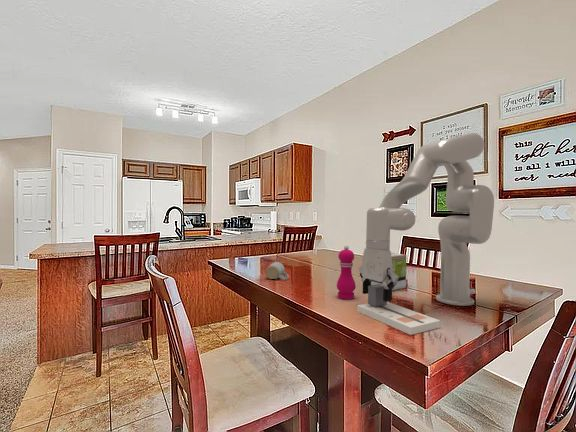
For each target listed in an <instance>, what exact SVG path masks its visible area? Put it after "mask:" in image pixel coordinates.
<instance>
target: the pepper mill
mask: <svg viewBox="0 0 576 432" xmlns="http://www.w3.org/2000/svg"><path fill="white" fill-rule="evenodd" d="M349 248H350V247H349V246H348V245H345V246H344V247H343V249H342V250H340V251H339V253H338V255H337V256H338V260H339V267H340V275H339V277H338V279H337V283H336V289H337V290H338V292H337V298H338V299H341V300H347V301H348V300H349V301H351V300H354V299H355V292H354V291H355V290H356V282H355V279H354V277H353V273H352V268H353V267H354V262H353V261H354V259H355V254H354V252H353V251H352V250H350V249H349Z"/></svg>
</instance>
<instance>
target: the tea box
mask: <svg viewBox="0 0 576 432" xmlns="http://www.w3.org/2000/svg"><path fill="white" fill-rule="evenodd" d="M391 257H392V271H393V272H394V273H395V274H396V275H397V276H398V277H399V279H398V281H397V282H396V285H395V286H394V288H393V289H392V291H396V290H400V289H404V288H405V289H406V286H407V254H403V253H396V252H391ZM391 281H392V279H391ZM370 282H371V285H378V284H380V285H383V283H382V282H377V281H373V280H370ZM387 284H388V282H387Z"/></svg>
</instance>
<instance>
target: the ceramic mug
mask: <svg viewBox="0 0 576 432" xmlns="http://www.w3.org/2000/svg"><path fill="white" fill-rule="evenodd" d="M285 270H286V269H285V265H283V263H282V262H279V261H274V262H272V263H270V265H268V266H267V267H266V269H265V275H266V277H267V278H268V279H269V280H271V279H275V280H278V279H280V280H283V281H287V280H288V279H289V274H288V273H287V272H285Z"/></svg>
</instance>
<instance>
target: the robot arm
mask: <svg viewBox="0 0 576 432" xmlns="http://www.w3.org/2000/svg"><path fill="white" fill-rule="evenodd" d="M484 149H485V141H484V138H483V137H482V136H481V135H480V134H479V133H475V132H469V133H465V134H461V135H458V136H454V137H449V138H446V139H442V140H438V141H433V142H430V143H427V144H424V145H422V146H421V147H420V148H419V149H418V150H417V152H416V154H415V156H414V157H413V158H412V161H411V163H410V165H409V167H408V169H407V171H406V173H405V174H404V177H402V179H401V180H400V181H399V182H398V183H396V185H395V186H394V187H393V188H392V189H391V190H389V192H388V193H387V194H386V195H385V197H384V198H383V199H382V201H381V203H380V205H379V206H378V207H372V208H368V209H367V211H366V227H365V228H366V233H365V235H366V237H365V248H364V250H363V254H362V261H361V266H359V267H358V272H359V277H360V281H361V282H362V294H363V295H368V286H371V282H370V280H373V281H377V282H382V283H383V285H384V287H385V289H383V301H385V302H386V301H387V302H390V301H392V300H393V290H392V289H393V288H394V286H395V285H396V282H397V281H398V279H399V277H398V276H397V275H396V274H395V273H394V272H393V271H392V257H391V253H392V251H391V250H390V249H391V248H390V247H391V244H390V243H391V230H393V231H400V232H401V231H408V230H410V229H412V228H413V227H414V225H415V223H416V216H415V214H414V212H413V211H412V210H410V209H409V208H405V207H402V206H403V205H404V204H405V203H406V202H407V201H409V200H410V199H412V198H415V197H416V196H419V195H420V194H422V193H424V192H425V191H427V189H428V188H429V186H430V184H431V182H432V179H433V177H434V175H435V174H436V172H437V169H438V168H439V167H444V168H445V170H446V173H447V183H446V193H445V194H446V195H445V207H446V209H447V210H449V212H450V211H451V212H454V213H469V215H449V216H446V217H444V218H442V219H441V220H440V221H439V223H438V225H437V226H438V228H437V231H438V235H439V242H440V289H439V290H440V292H439V294H438V293H437V294H436V295H435V299H436V301H438V302H439V303H442V304H443V303H444V304H447V305H451V306H459V307H460V306H461V307H462V306H463V307H464V306H465V307H466V306H473V305H474V304H475V300H474V298H472V297H471V295H475V294H476V289H475V288H470V279H471V277H470V276H471V274H470V273H471V270H470V267H471V254H470V253H471V252H470V250H469V247H468V246H467V244H471V245H472V244H474V245H481V244H485V243H486V242H487V241H488V240H489V239H490V238H491V234H492V230H493V229H492V228H493V219H494V210H495V196H494V194H493V191H492V190H491V188H489V187H488V186H487V185H484V184H483V185H482V184H474V181H475V180H474V178H475V177H474V175H475V174H474V173H475V172H474V169H473V167H472V166H471V164H470V163H469V162H468V161H469V160H474V159H475V158H478V157H479V156H481V154H482V153H483V151H484ZM391 279H392V281H391ZM387 282H388V284H387Z"/></svg>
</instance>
